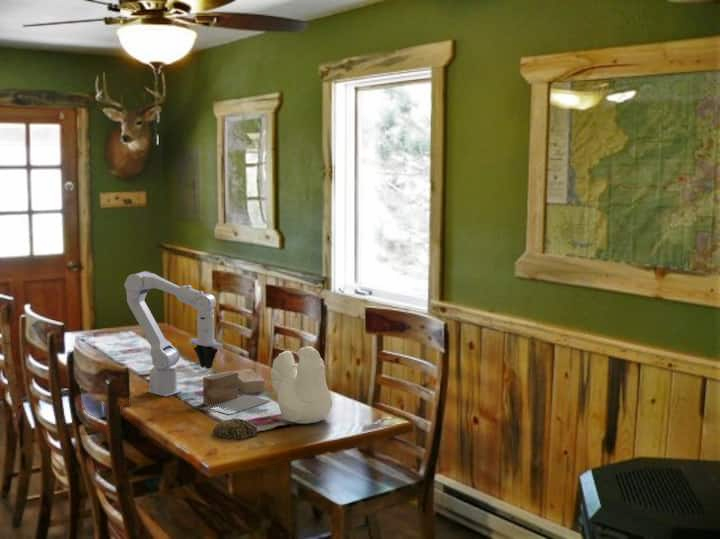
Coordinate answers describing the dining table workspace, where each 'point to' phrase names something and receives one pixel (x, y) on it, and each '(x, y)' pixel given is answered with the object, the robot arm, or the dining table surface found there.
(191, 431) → the dining table surface
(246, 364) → the dining table surface
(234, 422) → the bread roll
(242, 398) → the spiral notebook
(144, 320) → the robot arm
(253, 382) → the brick
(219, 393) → the block
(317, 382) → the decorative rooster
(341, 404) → the dining table surface
